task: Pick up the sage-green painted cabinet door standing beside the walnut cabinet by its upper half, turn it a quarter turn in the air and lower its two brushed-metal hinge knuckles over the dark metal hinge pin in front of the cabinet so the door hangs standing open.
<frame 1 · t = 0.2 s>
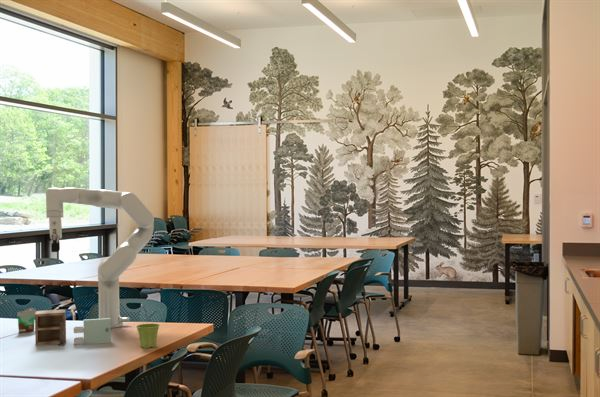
hand: (55, 251, 360), 37 cm above the table, tool pointing down, fingers open, 9 cm apart
cabinet: (51, 342, 330), on the table
door: (97, 342, 327), on the table
food container: (29, 331, 357), on the table
plant pot: (148, 347, 317), on the table
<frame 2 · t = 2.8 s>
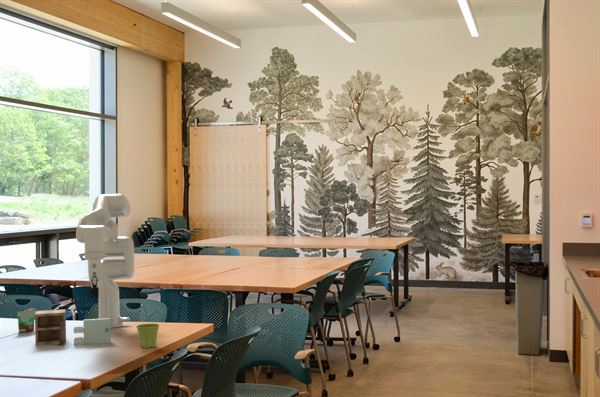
hand: (94, 296, 326), 20 cm above the table, tool pointing down, fingers open, 9 cm apart
nothing on the table moved.
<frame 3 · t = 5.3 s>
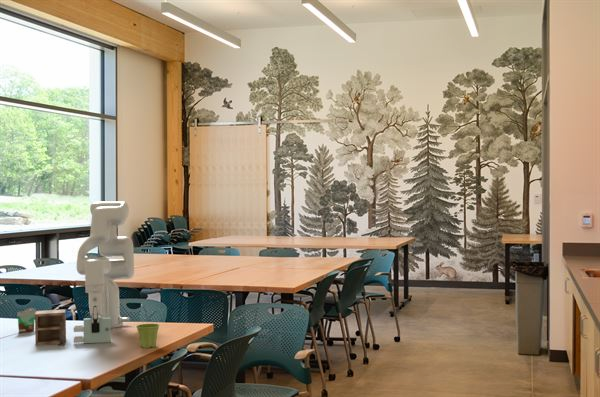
hand: (95, 331, 327), 5 cm above the table, tool pointing down, fingers closed on door, 2 cm apart
door: (97, 342, 327), on the table, touching gripper
everything else where it was.
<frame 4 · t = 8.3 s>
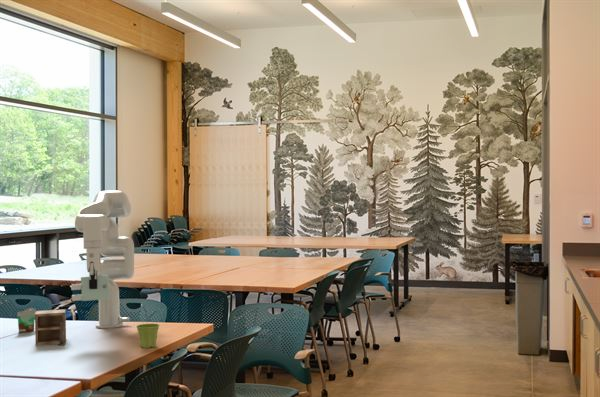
hand: (93, 288, 326), 23 cm above the table, tool pointing down, fingers closed on door
door: (95, 299, 326), point 18 cm above the table, touching gripper
everything else where it was.
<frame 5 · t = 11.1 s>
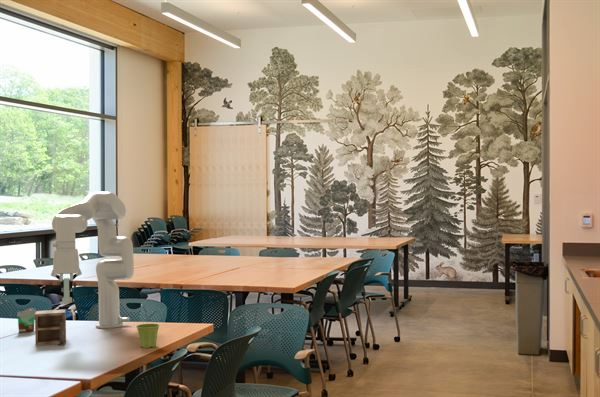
hand: (66, 290, 318), 23 cm above the table, tool pointing down, fingers closed on door
door: (66, 303, 317), point 18 cm above the table, tilted 8°, touching gripper
everything else where it was.
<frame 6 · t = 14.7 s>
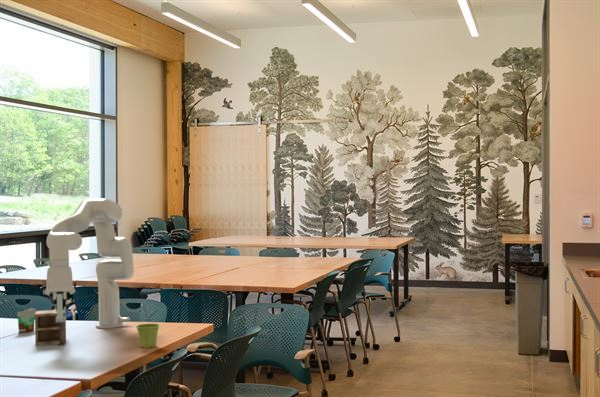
hand: (60, 308, 316), 16 cm above the table, tool pointing down, fingers closed on door
door: (60, 320, 315), point 12 cm above the table, tilted 16°, touching gripper
everything else where it was.
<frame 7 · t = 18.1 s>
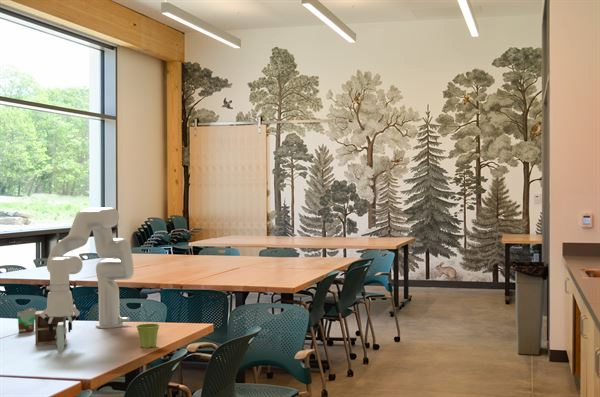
hand: (60, 332, 316), 7 cm above the table, tool pointing down, fingers open, 6 cm apart
door: (60, 348, 315), on the table
everything else where it was.
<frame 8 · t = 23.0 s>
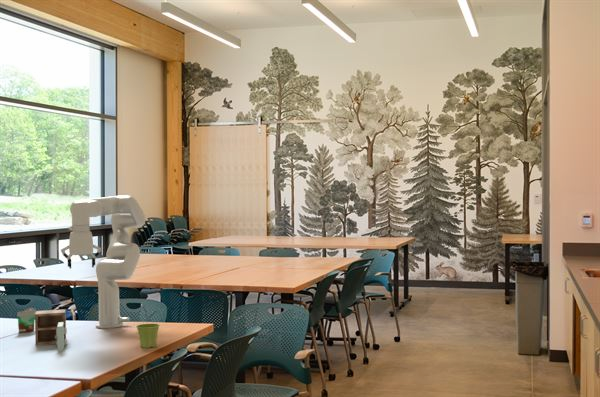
hand: (81, 267, 342), 30 cm above the table, tool pointing down, fingers open, 9 cm apart
nothing on the table moved.
at the end: door 0.4 cm from the target spot on the table beside the cabinet, on the table; door tilted 0°; the gripper is holding nothing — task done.
